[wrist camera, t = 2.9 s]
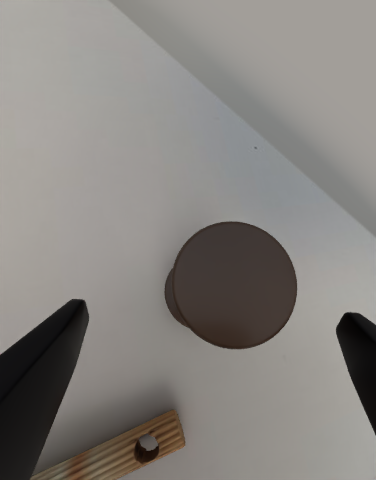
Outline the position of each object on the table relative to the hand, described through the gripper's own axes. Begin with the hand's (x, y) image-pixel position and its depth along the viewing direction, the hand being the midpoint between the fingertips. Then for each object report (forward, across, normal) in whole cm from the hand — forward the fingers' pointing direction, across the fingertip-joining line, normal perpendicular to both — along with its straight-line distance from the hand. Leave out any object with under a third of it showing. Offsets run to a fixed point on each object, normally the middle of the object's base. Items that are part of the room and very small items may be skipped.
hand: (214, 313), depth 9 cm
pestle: (+7, 0, +5) cm, 9 cm away
